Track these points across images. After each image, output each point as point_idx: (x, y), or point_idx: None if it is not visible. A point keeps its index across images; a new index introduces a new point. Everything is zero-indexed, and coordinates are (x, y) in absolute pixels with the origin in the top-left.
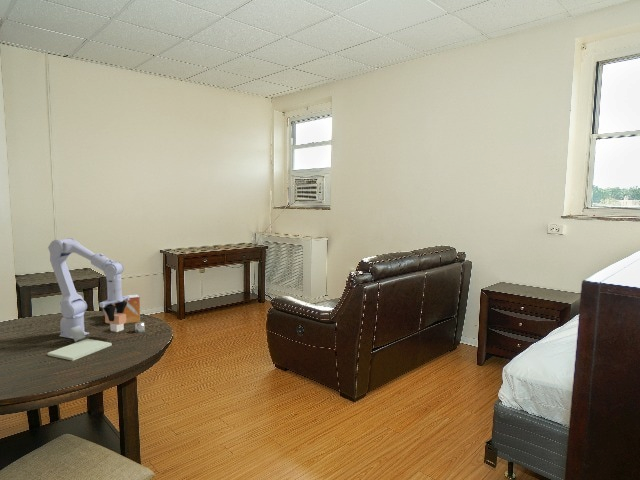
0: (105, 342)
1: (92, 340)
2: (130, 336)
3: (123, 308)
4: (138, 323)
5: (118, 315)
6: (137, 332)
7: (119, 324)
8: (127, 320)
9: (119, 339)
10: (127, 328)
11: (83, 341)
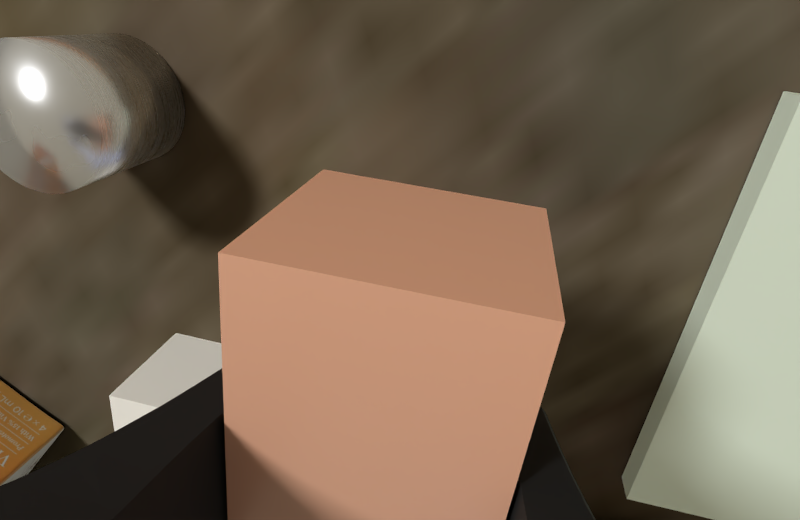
0: (771, 213)
1: (692, 418)
2: (345, 84)
3: (48, 513)
4: (57, 128)
5: (449, 391)
6: (182, 99)
7: (530, 207)
8: (3, 420)
9: (499, 155)
10: (134, 315)
11: (741, 489)
